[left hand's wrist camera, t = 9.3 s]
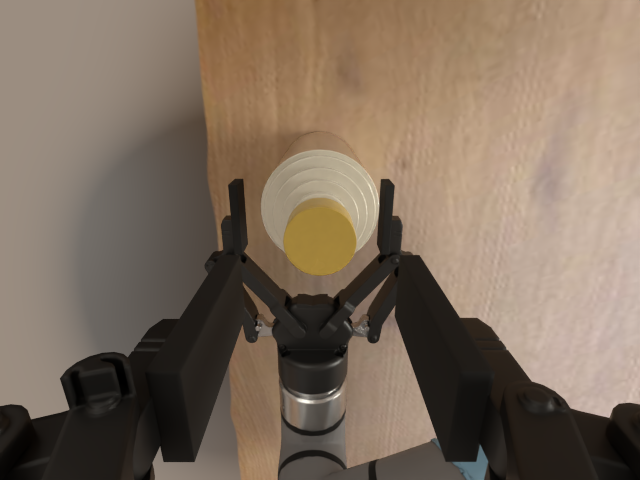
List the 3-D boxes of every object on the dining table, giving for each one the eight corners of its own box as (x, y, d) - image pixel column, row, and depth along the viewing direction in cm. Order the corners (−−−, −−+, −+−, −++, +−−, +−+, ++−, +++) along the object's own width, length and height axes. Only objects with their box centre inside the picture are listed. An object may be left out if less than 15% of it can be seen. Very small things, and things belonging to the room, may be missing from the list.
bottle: (273, 195, 40) (230, 284, 20) (293, 121, 37) (264, 143, 18) (344, 216, 40) (366, 320, 21) (368, 144, 38) (418, 190, 18)
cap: (279, 250, 21) (275, 265, 19) (296, 188, 20) (294, 198, 18) (341, 267, 22) (343, 283, 20) (362, 208, 21) (366, 219, 19)
